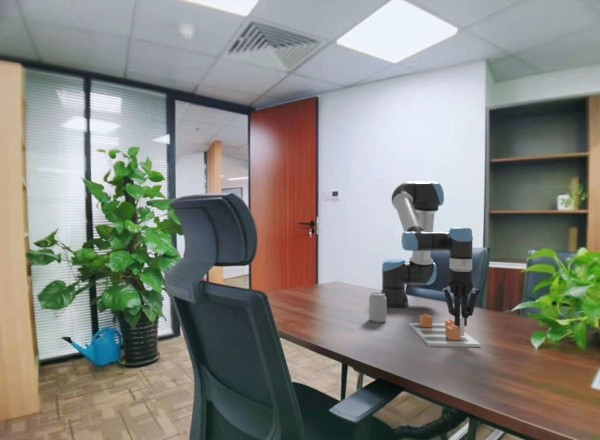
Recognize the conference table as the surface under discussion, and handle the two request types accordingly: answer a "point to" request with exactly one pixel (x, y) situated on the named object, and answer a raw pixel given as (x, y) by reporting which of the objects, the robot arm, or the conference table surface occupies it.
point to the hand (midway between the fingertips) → (460, 334)
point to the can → (377, 307)
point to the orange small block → (425, 320)
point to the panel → (441, 336)
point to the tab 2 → (448, 322)
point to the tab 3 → (453, 332)
